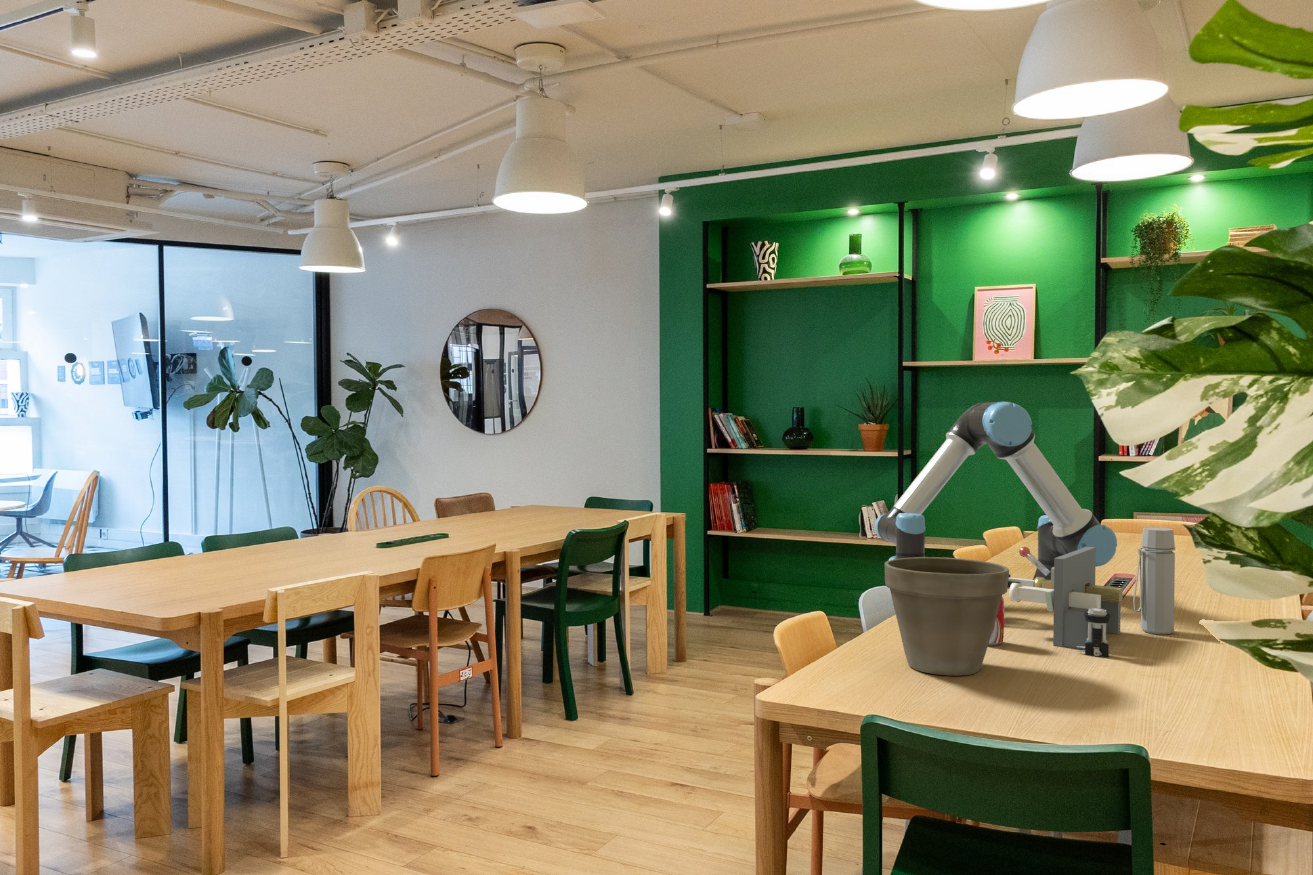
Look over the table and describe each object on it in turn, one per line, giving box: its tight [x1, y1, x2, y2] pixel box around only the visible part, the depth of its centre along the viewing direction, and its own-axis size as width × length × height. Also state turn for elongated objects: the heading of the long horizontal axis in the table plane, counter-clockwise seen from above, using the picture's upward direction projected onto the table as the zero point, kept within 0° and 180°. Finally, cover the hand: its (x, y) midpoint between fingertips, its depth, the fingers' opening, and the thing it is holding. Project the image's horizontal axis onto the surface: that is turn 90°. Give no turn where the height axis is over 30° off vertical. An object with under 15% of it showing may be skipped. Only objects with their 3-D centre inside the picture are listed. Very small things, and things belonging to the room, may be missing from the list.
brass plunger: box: [1033, 577, 1124, 603], centre depth 237 cm, size 4×20×4 cm, turn 50°
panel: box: [1051, 547, 1122, 651], centre depth 230 cm, size 24×9×20 cm, turn 140°
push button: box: [1076, 608, 1111, 658], centre depth 215 cm, size 7×5×10 cm
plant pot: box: [884, 556, 1010, 677], centre depth 204 cm, size 25×25×22 cm
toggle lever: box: [1018, 546, 1050, 576], centre depth 227 cm, size 2×7×6 cm, turn 50°
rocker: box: [1045, 590, 1054, 612], centre depth 225 cm, size 3×1×4 cm, turn 140°
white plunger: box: [1008, 583, 1101, 609], centre depth 228 cm, size 4×20×4 cm, turn 50°
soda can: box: [988, 596, 1005, 647], centre depth 225 cm, size 7×7×12 cm
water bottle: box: [1132, 526, 1176, 636], centre depth 236 cm, size 9×8×25 cm
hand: (1034, 586), depth 243 cm, fingers closed
